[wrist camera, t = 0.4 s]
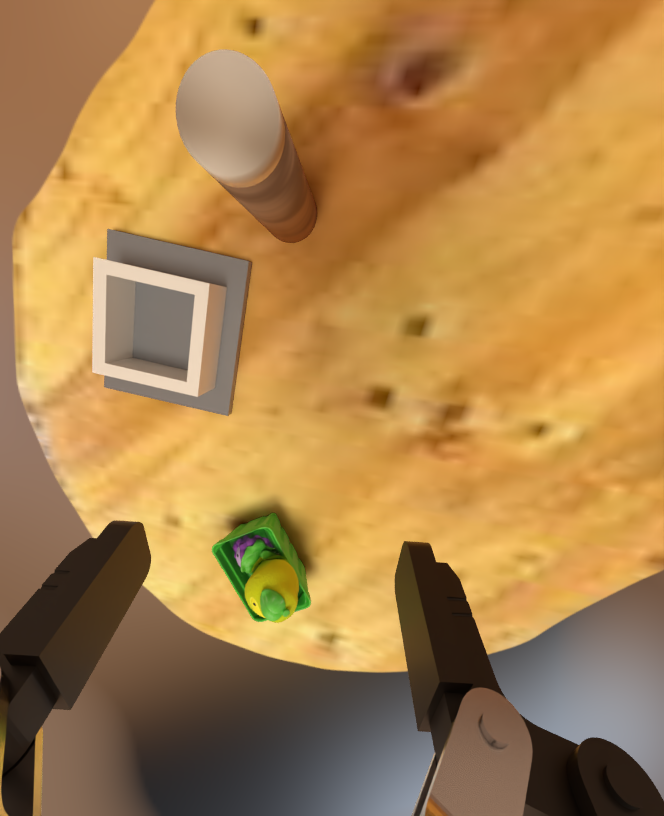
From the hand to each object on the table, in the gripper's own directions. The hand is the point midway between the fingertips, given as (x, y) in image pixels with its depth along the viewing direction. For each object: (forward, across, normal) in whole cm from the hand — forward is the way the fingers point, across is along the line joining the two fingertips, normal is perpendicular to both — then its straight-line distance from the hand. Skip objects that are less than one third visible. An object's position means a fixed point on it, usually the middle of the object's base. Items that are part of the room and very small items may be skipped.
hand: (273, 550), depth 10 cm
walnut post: (+29, +3, -11) cm, 31 cm away
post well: (+28, +15, +1) cm, 31 cm away
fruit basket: (+22, +3, +26) cm, 34 cm away
